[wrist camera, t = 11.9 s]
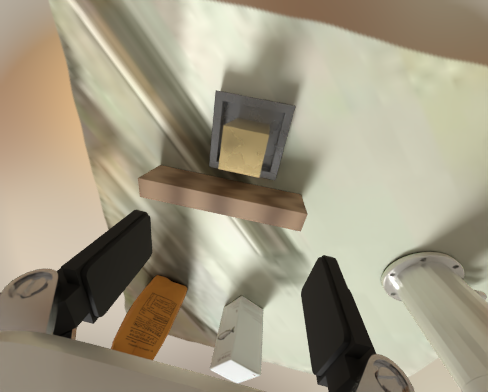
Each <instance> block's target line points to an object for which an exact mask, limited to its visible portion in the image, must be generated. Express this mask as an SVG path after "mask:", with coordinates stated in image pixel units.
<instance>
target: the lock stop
mask: <svg viewBox="0 0 488 392" xmlns="http://www.w3.org/2000/svg"><path fill="white" fill-rule="evenodd" d="M269 126H270V124H265V123H261V122H256V121H251V120H246V119H241V118H236V119H235V120H233V121H231V122H229V123H227V124H225V125H224V126H223V134H222V142H221V151H220V159H219V167H218V169H221V170H226V171H230V172H235V173H240V174H244V175H249V176H253V177H258V178H259V176H260V172H261V168H262V164H263V159H264V155H265V151H266V147H267V142H268V138H269Z"/></svg>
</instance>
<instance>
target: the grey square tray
mask: <svg viewBox="0 0 488 392" xmlns="http://www.w3.org/2000/svg"><path fill="white" fill-rule="evenodd" d="M294 110H295V106H293V105H288V104H283V103H278V102H273V101H268V100H263V99H257V98H252V97H247V96H242V95H237V94H232V93H227V92H222V91H216V93H215V105H214V116H213V128H212V140H211V151H210V163H209V167H214V168H218V167H219V159H220V151H221V142H222V134H223V126H224V125H225V124H227V123H229V122H231V121H233V120H235V119H236V118H241V119H246V120H251V121H256V122H261V123H265V124H270V126H269V138H268V142H267V147H266V151H265V155H264V159H263V164H262V168H261V172H260V176H259V177H262V178H267V179H271V180H275V179H276V176H277V172H278V168H279V165H280V161H281V157H282V154H283V150H284V146H285V143H286V139H287V135H288V132H289V128H290V124H291V121H292V117H293V113H294Z"/></svg>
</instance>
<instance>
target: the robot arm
mask: <svg viewBox="0 0 488 392" xmlns="http://www.w3.org/2000/svg"><path fill="white" fill-rule="evenodd" d="M151 254H152V239H151V222H150V216H148V214H147V212H143V211H139V210H134V211H133V212H131V213H130V214H129V215H127V216H126V217H125V218H124V219H122V220H121V221H120V222H118V223H117V224H116V225H115V226H113V227H112V228H111V229H109V230H108V231H107V232H105V233H104V234H103V235H102V236H100V237H99V238H98V239H97V240H95V241H94V242H93V243H91V244H90V245H89V246H87V247H86V248H85V249H84V250H82V251H81V252H80V253H78V254H77V255H76V256H74V257H73V258H72V259H71V260H69V261H68V262H67V263H65V264H64V265H63V266H61V268H60V269H59V270H58V271H57V272H56V271H55V270H52V269H38V270H34V271H31V272H27V273H25V274H23V275H21V276H19V277H17V278H16V279H14V280H12V281H11V282H10V283H9V284H8V285H7V286H6V287H5V288H4V290H3V291H2V292H1V293H0V392H265V391H262V390H258V389H254V388H251V387H247V386H244V385H240V384H237V383H233V382H229V381H226V380H222V379H219V378H215V377H211V376H208V375H204V374H200V373H197V372H193V371H190V370H186V369H182V368H179V367H175V366H171V365H168V364H164V363H160V362H157V361H153V360H149V359H146V358H142V357H138V356H134V355H131V354H127V353H123V352H119V351H116V350H112V349H108V348H104V347H101V346H97V345H93V344H89V343H85V342H81V341H77V340H75V337H76V329H77V326H78V325H79V324H80V323H81V322H82V321H85V322H89V323H94V322H95V321H96V320H97V318H99V317H102V316H103V315H104V314H105V313H106V312H107V311H108V310H109V308H110V307H111V306H112V305H113V303H114V302H115V301H116V300H117V298H118V297H119V296H120V295H121V293H122V292H123V291H124V290H125V288H126V287H127V286H128V285H129V283H130V282H131V281H132V280H133V278H134V277H135V276H136V275H137V273H138V272H139V271H140V269H141V268H142V267H143V266H144V264H145V263H146V262H147V261H148V259H149V258H150V257H151ZM464 275H465V272H464V269H463V267H462V265H461V264H460V263H459V262H458V261H456V260H455V259H454V258H452V257H451V256H449V255H446V254H443V253H438V252H421V253H415V254H411V255H408V256H405V257H403V258H400V259H398V260H397V261H395V262H393V263H392V264H391V265H390V266H388V267H387V269H386V270H385V271H384V273H383V275H382V278H381V284H382V286H383V288H384V290H385V291H386V293H387V294H388V295H389V296H390V297H392V298H394V299H396V300H399V301H402V302H403V303H404V305H405V306H406V308H407V309H408V311H409V313H410V314H411V316H412V317H413V319H414V320H415V322H416V323H417V325H418V326H419V328H420V329H421V331H422V332H423V334H424V335H425V337H426V338H427V340H428V341H429V343H430V344H431V346H432V348H433V349H434V351H435V352H436V354H437V355H438V357H439V358H440V360H441V361H442V363H443V364H444V366H445V367H446V369H447V370H448V372H449V373H450V375H451V376H452V378H453V379H454V381H455V382H456V384H457V386H458V387H459V388H460V390H461V391H462V392H488V303H487V302H486V301H485V299H486V298H487V296H486V294H485V293H484V292H482V291H477V290H473V289H472V288H471V287H470V286H469V285H468V284H467V283H466V282H465V281H464V280H463V279H464ZM301 297H302V304H303V311H304V318H305V325H306V332H307V339H308V345H309V352H310V359H311V366H312V371H313V373H314V374H315V375H316V377H317V383H318V385H322V386H326V387H328V390H329V392H414V388H413V386H412V384H411V382H410V381H409V379H408V377H407V376H406V375H405V373H404V372H403V371H402V370H401V369H400V368H399V367H398V366H397V365H396V364H395V363H394V362H393V361H391V360H390V359H389V358H387V357H385V356H383V355H379V354H376V352H375V350H374V347H373V345H372V342H371V340H370V338H369V335H368V333H367V330H366V328H365V325H364V323H363V321H362V318H361V316H360V313H359V311H358V308H357V306H356V303H355V301H354V299H353V296H352V294H351V292H350V290H349V289H348V287H347V285H346V283H345V280H344V278H343V275H342V273H341V270H340V268H339V265H338V263H337V260H336V259H335V258H333V257H329V256H325V255H323V256H322V257H319V258H318V259H317V261H316V263H315V265H314V267H313V269H312V271H311V273H310V275H309V277H308V279H307V281H306V282H305V284H304V286H303V288H302V291H301Z"/></svg>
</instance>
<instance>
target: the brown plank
mask: <svg viewBox="0 0 488 392" xmlns="http://www.w3.org/2000/svg"><path fill="white" fill-rule="evenodd" d="M138 182H139V192H140V197H144V198H148V199H153V200H158V201H162V202H167V203H171V204H176V205H181V206H185V207H190V208H195V209H199V210H204V211H208V212H213V213H218V214H222V215H227V216H232V217H236V218H241V219H246V220H250V221H255V222H259V223H264V224H269V225H273V226H278V227H283V228H287V229H292V230H296V231H301V229H302V227H303V224H304V222H305V219H306V217H307V211H306V208H305V205H304V202H303V199H302V196H301V194H296V193H291V192H286V191H282V190H277V189H272V188H267V187H263V186H258V185H253V184H248V183H244V182H239V181H234V180H229V179H224V178H220V177H215V176H210V175H205V174H201V173H196V172H191V171H186V170H181V169H177V168H172V167H167V166H162V165H160V166H158V167H156V168H155V169H153V170H151V171H149V172H148V173H146V174H144V175H143V176H141V177H139V178H138Z"/></svg>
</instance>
